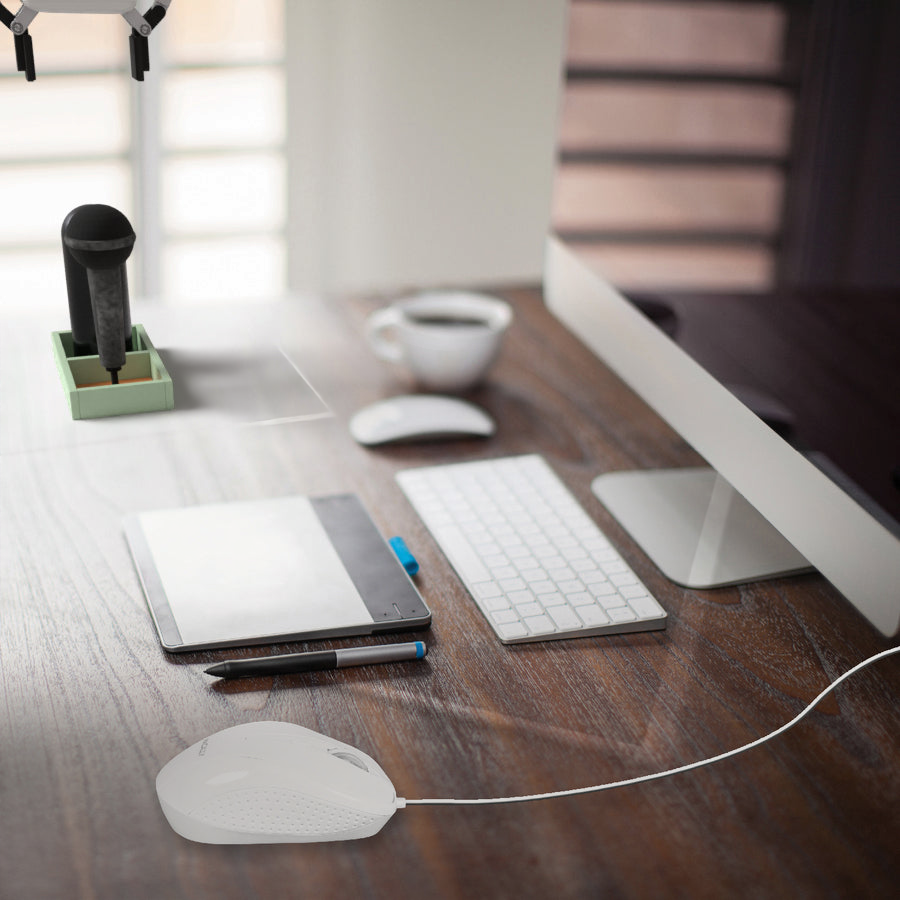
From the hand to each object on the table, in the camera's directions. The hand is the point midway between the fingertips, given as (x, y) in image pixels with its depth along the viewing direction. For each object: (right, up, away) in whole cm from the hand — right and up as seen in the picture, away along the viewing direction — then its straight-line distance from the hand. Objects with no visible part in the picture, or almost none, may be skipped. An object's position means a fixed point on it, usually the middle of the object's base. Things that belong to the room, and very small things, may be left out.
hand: (85, 79), depth 106 cm
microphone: (-1, -29, +14) cm, 32 cm away
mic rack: (-3, -27, +18) cm, 33 cm away
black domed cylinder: (-5, -25, +22) cm, 33 cm away
